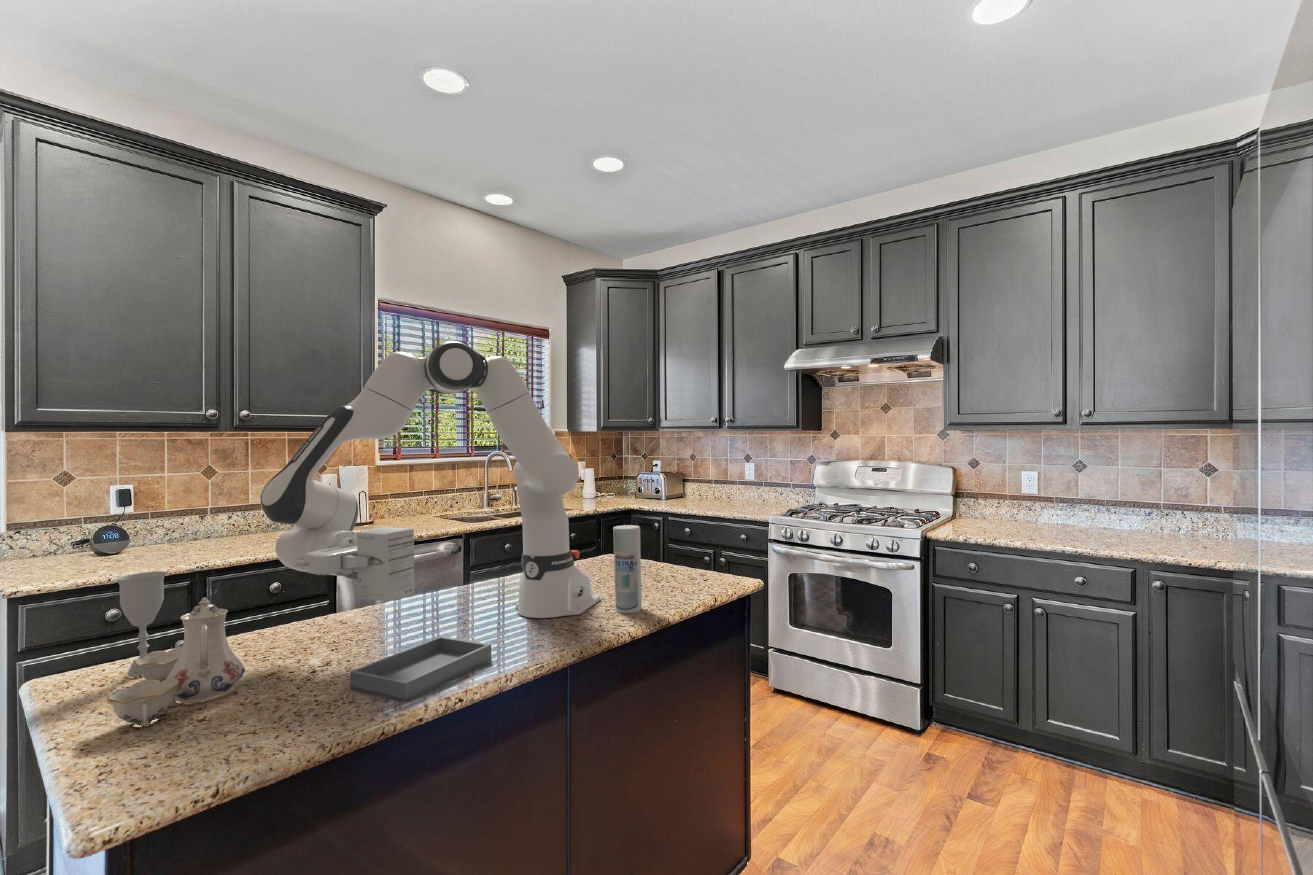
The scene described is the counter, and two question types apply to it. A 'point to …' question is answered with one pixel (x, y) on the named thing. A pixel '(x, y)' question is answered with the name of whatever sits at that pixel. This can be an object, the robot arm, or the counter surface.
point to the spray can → (627, 568)
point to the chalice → (141, 605)
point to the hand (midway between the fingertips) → (389, 557)
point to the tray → (419, 668)
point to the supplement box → (386, 563)
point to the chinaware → (183, 669)
